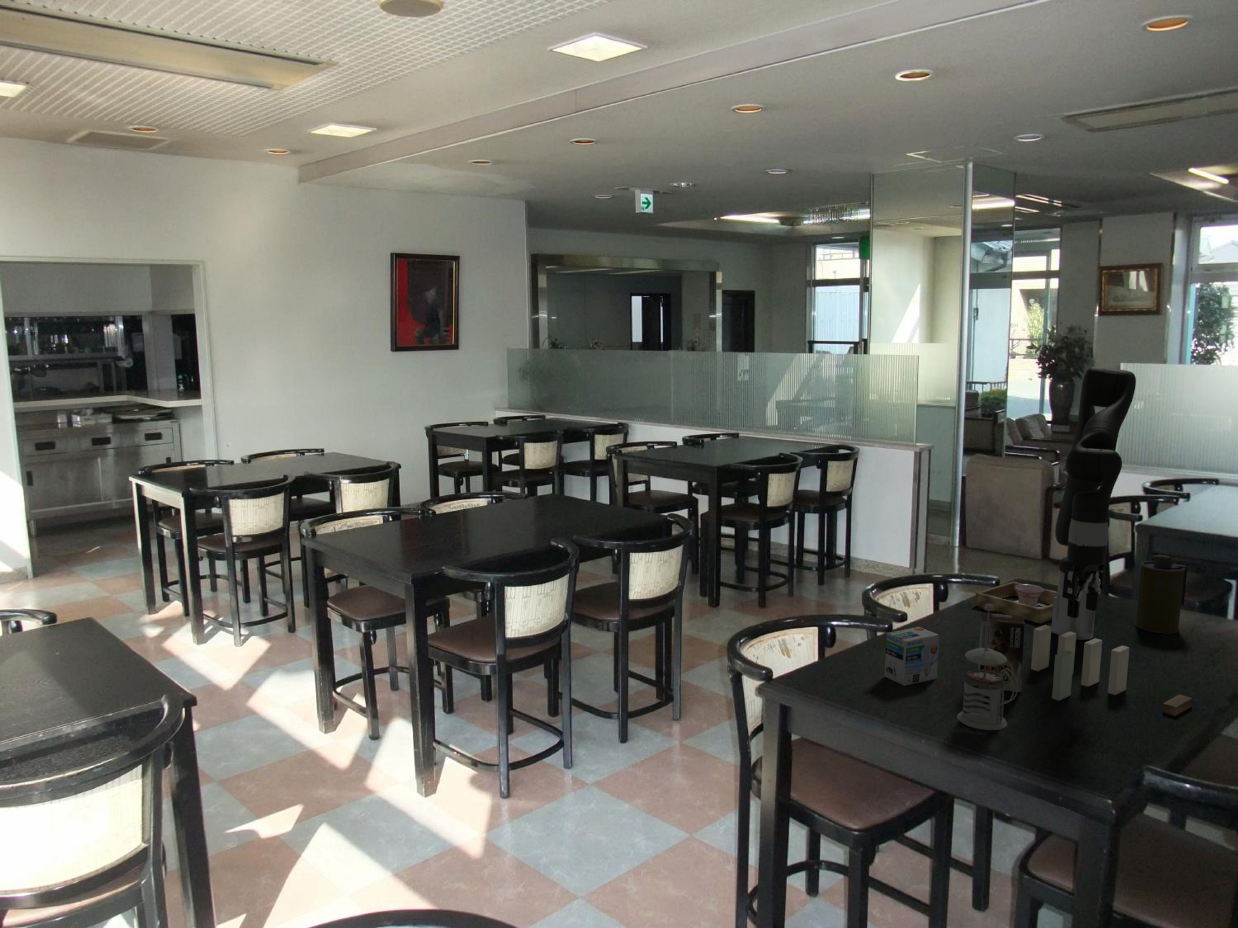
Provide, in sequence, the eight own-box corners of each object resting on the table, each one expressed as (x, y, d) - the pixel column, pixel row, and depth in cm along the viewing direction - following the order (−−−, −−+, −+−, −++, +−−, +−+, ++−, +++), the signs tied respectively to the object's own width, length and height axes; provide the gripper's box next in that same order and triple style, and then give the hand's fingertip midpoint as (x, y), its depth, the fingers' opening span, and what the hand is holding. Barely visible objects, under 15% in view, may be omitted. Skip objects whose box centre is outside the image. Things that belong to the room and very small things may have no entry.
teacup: (1008, 600, 277) (1010, 580, 276) (1053, 606, 271) (1054, 586, 270) (1003, 610, 267) (1004, 590, 266) (1048, 617, 261) (1050, 596, 260)
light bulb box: (904, 686, 211) (906, 641, 209) (883, 676, 217) (885, 632, 215) (938, 678, 216) (940, 634, 214) (916, 669, 222) (919, 625, 220)
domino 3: (1081, 684, 212) (1084, 642, 211) (1091, 679, 215) (1095, 638, 214) (1088, 686, 211) (1091, 644, 210) (1098, 681, 214) (1102, 640, 213)
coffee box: (1019, 682, 213) (1023, 615, 211) (1021, 693, 207) (1026, 623, 205) (976, 677, 216) (981, 611, 214) (977, 687, 210) (982, 619, 208)
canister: (1142, 632, 248) (1148, 559, 245) (1129, 620, 258) (1136, 550, 255) (1187, 635, 246) (1194, 562, 243) (1173, 623, 256) (1179, 552, 253)
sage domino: (1051, 698, 205) (1055, 654, 203) (1063, 692, 208) (1066, 650, 206) (1059, 700, 203) (1062, 656, 202) (1070, 695, 206) (1073, 652, 205)
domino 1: (1031, 669, 222) (1033, 628, 220) (1041, 664, 225) (1044, 624, 223) (1037, 671, 221) (1040, 630, 219) (1048, 666, 224) (1051, 626, 222)
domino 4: (1107, 692, 208) (1111, 649, 206) (1118, 687, 211) (1122, 645, 209) (1115, 695, 206) (1118, 652, 205) (1125, 689, 209) (1129, 647, 208)
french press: (971, 706, 200) (978, 594, 196) (1024, 723, 192) (1032, 606, 188) (947, 718, 194) (954, 603, 190) (1001, 737, 185) (1009, 616, 181)
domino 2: (1055, 676, 217) (1058, 635, 216) (1066, 671, 220) (1069, 631, 219) (1062, 678, 216) (1065, 637, 214) (1073, 673, 219) (1076, 633, 217)
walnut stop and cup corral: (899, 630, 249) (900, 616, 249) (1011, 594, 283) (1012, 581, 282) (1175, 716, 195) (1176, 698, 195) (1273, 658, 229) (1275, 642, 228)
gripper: (1085, 533, 207) (1080, 603, 210) (1054, 542, 198) (1048, 615, 201) (1120, 539, 201) (1114, 611, 204) (1089, 548, 193) (1084, 623, 195)
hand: (1082, 613), depth 202 cm, fingers open, 8 cm apart
